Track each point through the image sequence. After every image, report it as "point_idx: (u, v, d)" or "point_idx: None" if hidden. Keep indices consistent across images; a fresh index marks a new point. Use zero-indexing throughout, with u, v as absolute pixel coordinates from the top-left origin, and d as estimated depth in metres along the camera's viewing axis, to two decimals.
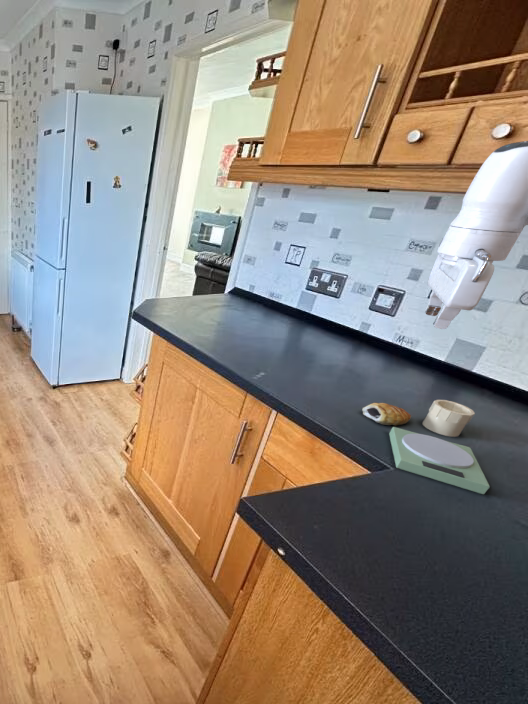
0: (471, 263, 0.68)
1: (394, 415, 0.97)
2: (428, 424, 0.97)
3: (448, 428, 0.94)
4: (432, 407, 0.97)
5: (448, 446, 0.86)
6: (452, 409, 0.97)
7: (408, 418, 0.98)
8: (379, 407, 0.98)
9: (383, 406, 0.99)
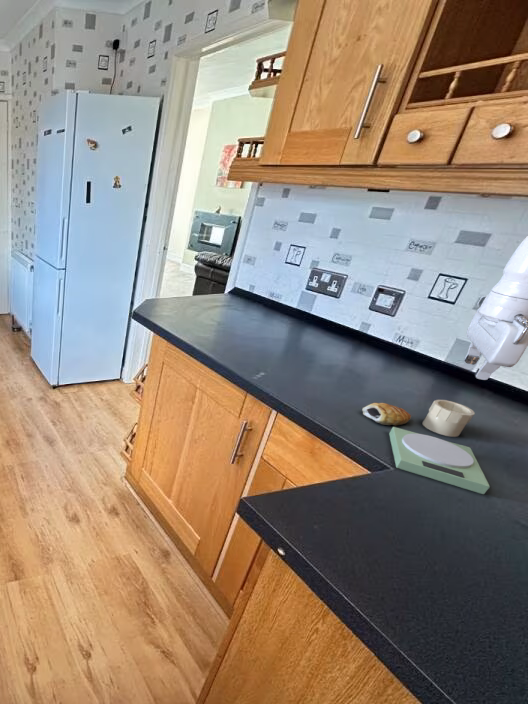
0: (512, 328, 0.79)
1: (394, 415, 0.97)
2: (428, 424, 0.97)
3: (448, 428, 0.94)
4: (432, 407, 0.97)
5: (448, 446, 0.86)
6: (452, 409, 0.97)
7: (408, 418, 0.98)
8: (379, 407, 0.98)
9: (383, 406, 0.99)
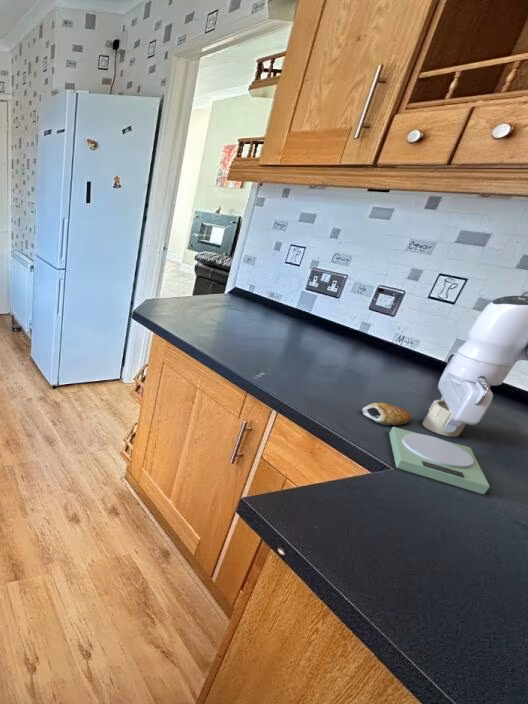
0: (474, 390, 0.86)
1: (394, 415, 0.97)
2: (428, 424, 0.97)
3: None
4: (432, 407, 0.97)
5: (448, 446, 0.86)
6: None
7: (408, 418, 0.98)
8: (379, 407, 0.98)
9: (383, 406, 0.99)
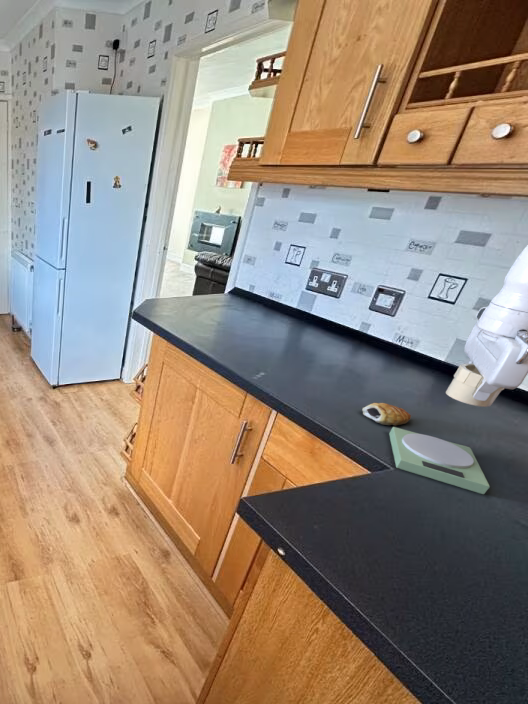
0: (515, 345, 0.70)
1: (394, 415, 0.97)
2: (453, 392, 0.81)
3: None
4: (458, 372, 0.81)
5: (448, 446, 0.86)
6: None
7: (408, 418, 0.98)
8: (379, 407, 0.98)
9: (383, 406, 0.99)
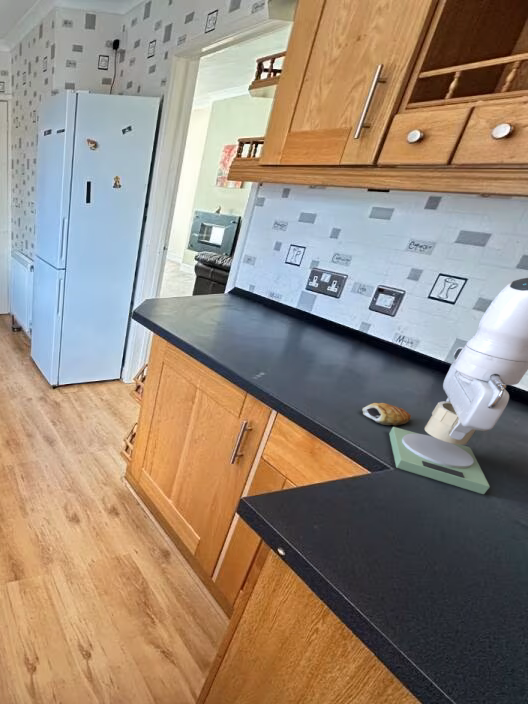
0: (487, 390, 0.72)
1: (394, 415, 0.97)
2: (431, 430, 0.84)
3: None
4: (436, 410, 0.83)
5: (448, 446, 0.86)
6: None
7: (408, 418, 0.98)
8: (379, 407, 0.98)
9: (383, 406, 0.99)
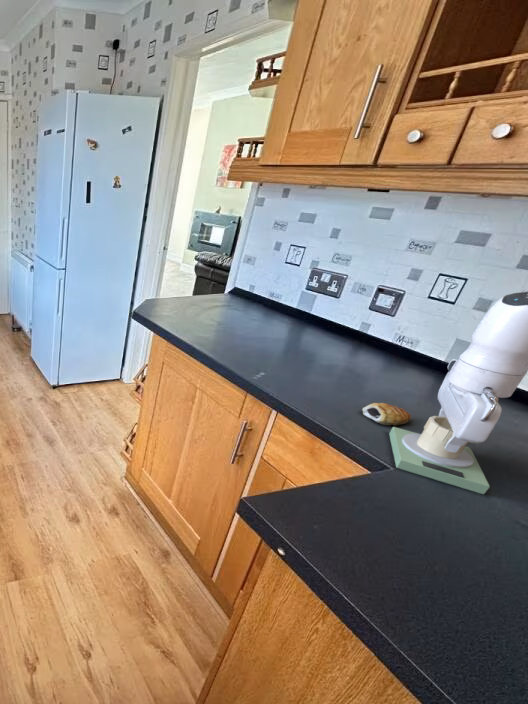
0: (480, 403, 0.73)
1: (394, 415, 0.97)
2: (423, 444, 0.85)
3: None
4: (428, 424, 0.85)
5: None
6: (450, 427, 0.85)
7: (408, 418, 0.98)
8: (379, 407, 0.98)
9: (383, 406, 0.99)
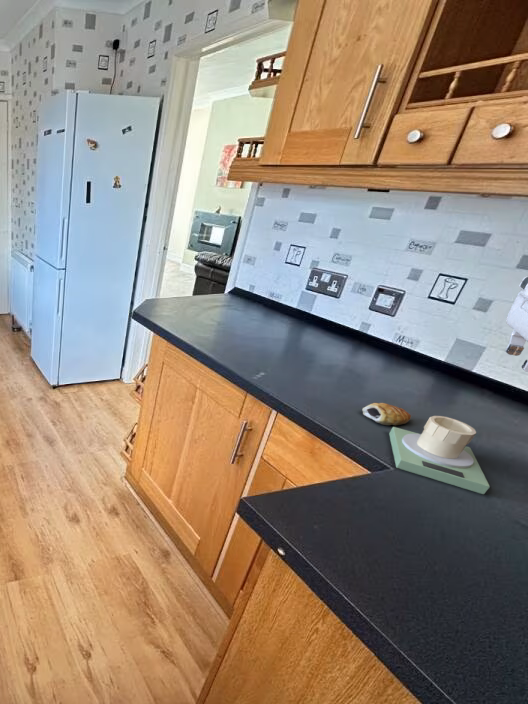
0: None
1: (394, 415, 0.97)
2: (423, 444, 0.85)
3: (446, 448, 0.82)
4: (428, 424, 0.85)
5: None
6: (450, 427, 0.85)
7: (408, 418, 0.98)
8: (379, 407, 0.98)
9: (383, 406, 0.99)
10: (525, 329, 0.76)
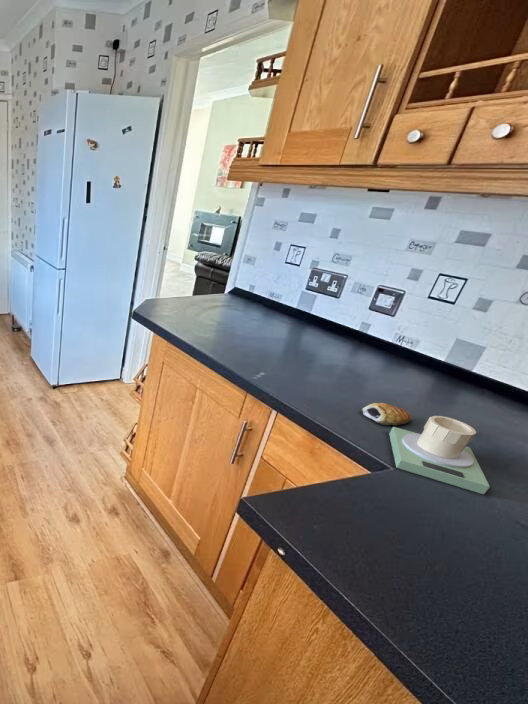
0: None
1: (394, 415, 0.97)
2: (423, 444, 0.85)
3: (446, 448, 0.82)
4: (428, 424, 0.85)
5: None
6: (450, 427, 0.85)
7: (408, 418, 0.98)
8: (379, 407, 0.98)
9: (383, 406, 0.99)
10: None
